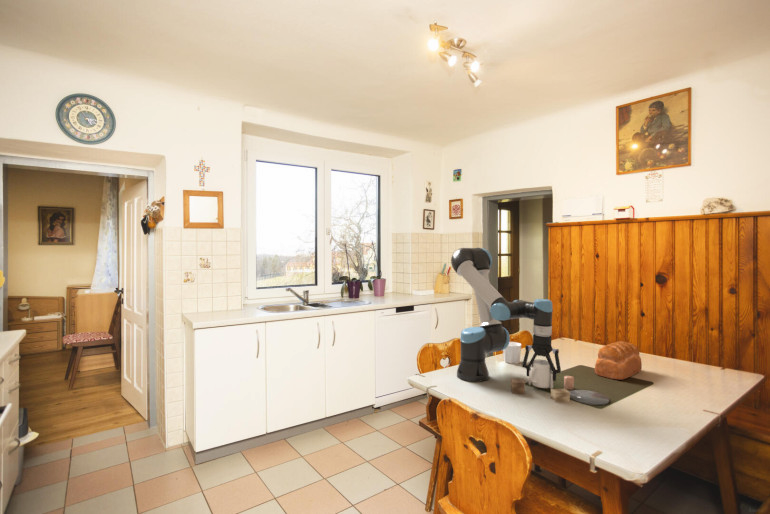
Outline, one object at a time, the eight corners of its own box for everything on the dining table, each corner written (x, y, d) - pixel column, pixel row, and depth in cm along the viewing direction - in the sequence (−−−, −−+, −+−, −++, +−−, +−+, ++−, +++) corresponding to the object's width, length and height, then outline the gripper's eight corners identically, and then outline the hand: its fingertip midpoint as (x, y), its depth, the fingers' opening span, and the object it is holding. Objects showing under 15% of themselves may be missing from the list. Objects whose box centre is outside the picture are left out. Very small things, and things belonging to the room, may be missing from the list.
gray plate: (566, 400, 159) (566, 398, 159) (569, 389, 172) (569, 387, 172) (609, 408, 152) (609, 406, 152) (608, 395, 165) (608, 393, 165)
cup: (523, 364, 210) (523, 346, 210) (505, 364, 210) (505, 346, 210) (517, 359, 220) (517, 341, 220) (499, 359, 220) (500, 341, 220)
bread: (591, 374, 193) (592, 343, 192) (614, 365, 209) (615, 336, 209) (622, 382, 182) (622, 349, 181) (644, 371, 198) (644, 341, 198)
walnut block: (512, 393, 167) (512, 382, 167) (510, 389, 172) (510, 378, 172) (524, 394, 166) (524, 382, 166) (522, 390, 171) (522, 379, 171)
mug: (537, 391, 165) (537, 367, 165) (521, 385, 172) (522, 362, 172) (555, 386, 171) (556, 363, 171) (539, 380, 178) (540, 358, 178)
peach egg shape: (563, 388, 173) (563, 377, 173) (564, 386, 176) (564, 375, 176) (573, 390, 171) (573, 379, 171) (574, 387, 174) (574, 376, 174)
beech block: (555, 402, 158) (555, 392, 158) (550, 398, 162) (550, 389, 162) (569, 402, 158) (569, 392, 158) (564, 398, 162) (564, 388, 162)
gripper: (515, 333, 172) (514, 383, 173) (568, 339, 162) (566, 393, 163) (519, 330, 179) (517, 378, 180) (569, 336, 169) (567, 387, 169)
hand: (540, 385), depth 171 cm, fingers closed on mug, 8 cm apart
